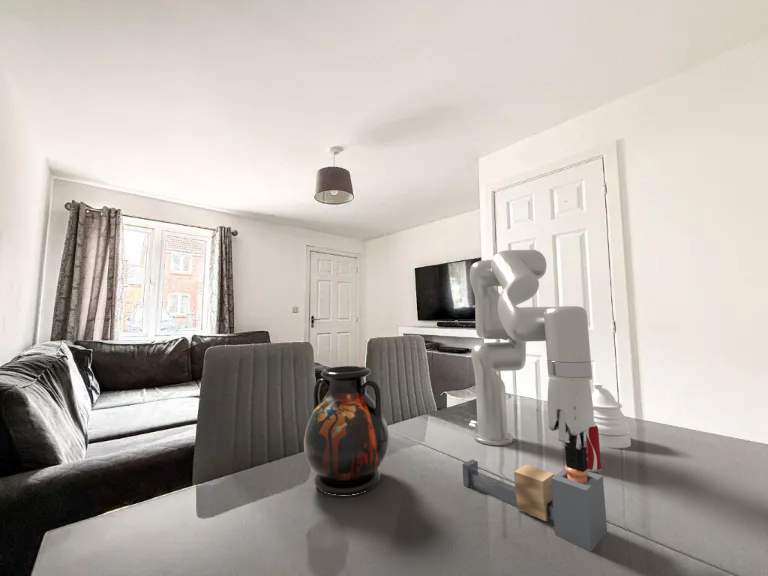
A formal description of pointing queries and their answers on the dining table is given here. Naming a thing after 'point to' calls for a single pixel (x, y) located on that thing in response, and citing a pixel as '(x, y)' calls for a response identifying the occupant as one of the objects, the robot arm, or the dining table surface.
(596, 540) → the end cabinet
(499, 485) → the grey slide rail
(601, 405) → the honey pot
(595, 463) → the soda can
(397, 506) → the dining table surface
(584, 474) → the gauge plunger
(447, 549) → the dining table surface
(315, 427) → the amphora vase
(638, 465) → the dining table surface
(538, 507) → the block
